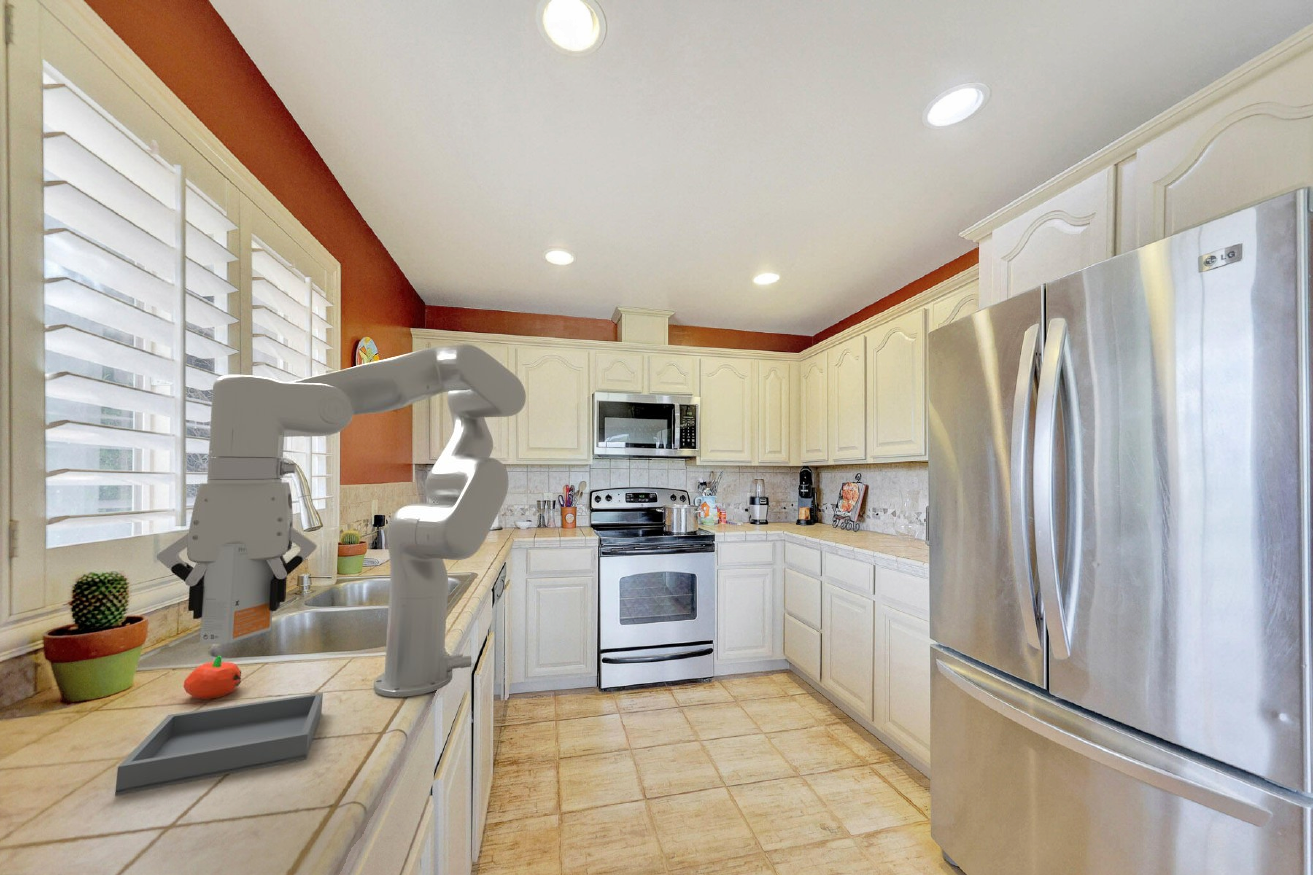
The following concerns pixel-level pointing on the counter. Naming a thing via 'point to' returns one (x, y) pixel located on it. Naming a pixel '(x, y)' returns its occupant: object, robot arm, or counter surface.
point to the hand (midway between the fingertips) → (238, 610)
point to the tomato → (213, 679)
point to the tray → (221, 742)
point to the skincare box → (235, 597)
